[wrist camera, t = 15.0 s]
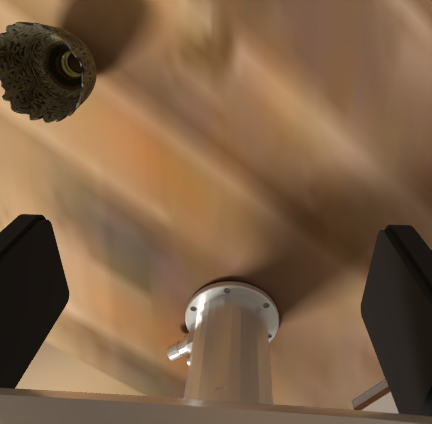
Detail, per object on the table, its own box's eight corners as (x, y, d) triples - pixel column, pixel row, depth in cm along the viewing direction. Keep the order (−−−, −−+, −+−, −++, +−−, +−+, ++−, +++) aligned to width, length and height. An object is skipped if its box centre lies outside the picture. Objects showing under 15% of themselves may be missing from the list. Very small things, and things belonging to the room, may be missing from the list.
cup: (26, 28, 34) (-31, 32, 27) (99, 12, 33) (60, 12, 26) (56, 107, 38) (13, 129, 31) (123, 95, 36) (95, 115, 29)
